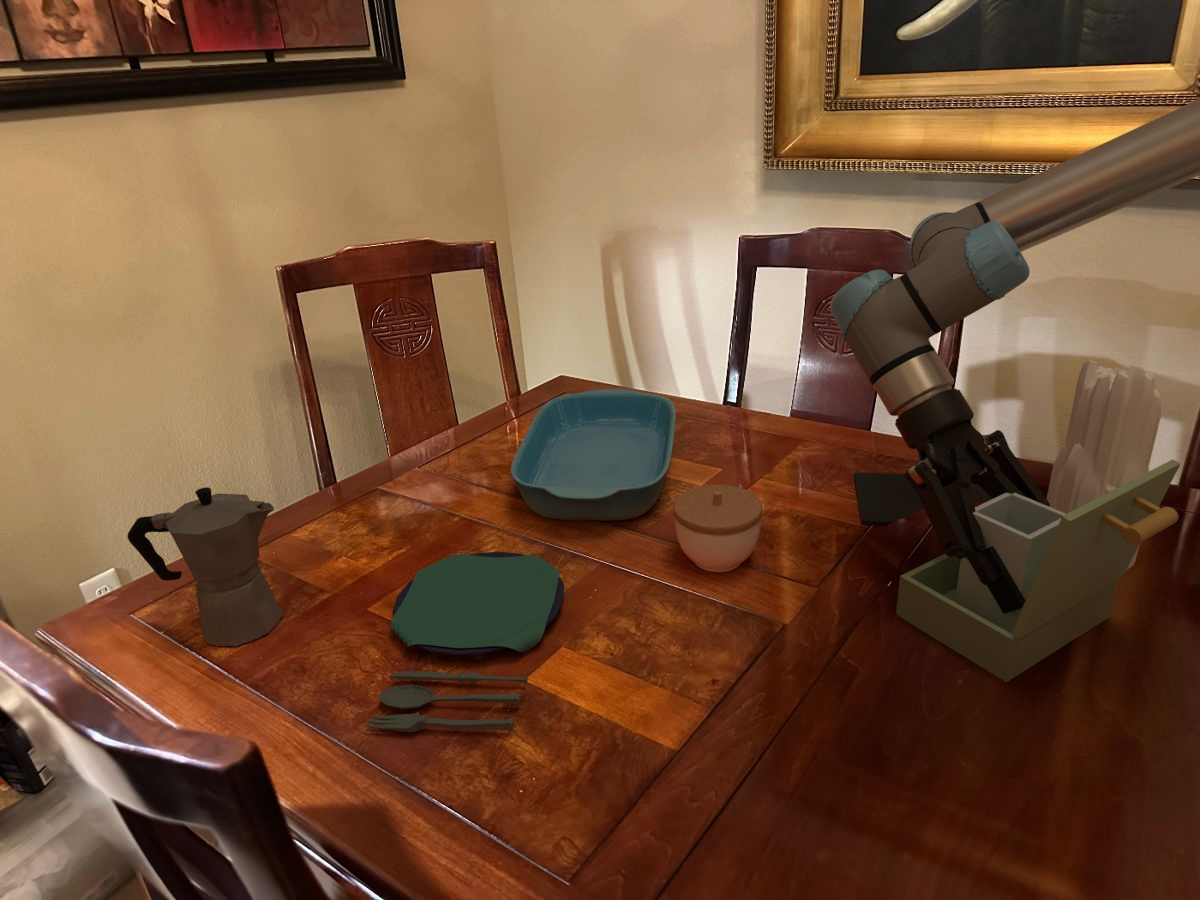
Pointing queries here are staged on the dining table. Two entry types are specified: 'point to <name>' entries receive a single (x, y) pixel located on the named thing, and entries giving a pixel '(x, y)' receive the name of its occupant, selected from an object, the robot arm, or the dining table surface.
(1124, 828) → the dining table surface
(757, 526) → the trinket box
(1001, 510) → the container
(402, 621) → the cutlery set
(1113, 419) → the decorative vase
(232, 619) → the coffeepot
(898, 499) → the mat
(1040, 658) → the green open box
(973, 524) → the robot arm
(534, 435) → the casserole dish
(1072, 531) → the lid
